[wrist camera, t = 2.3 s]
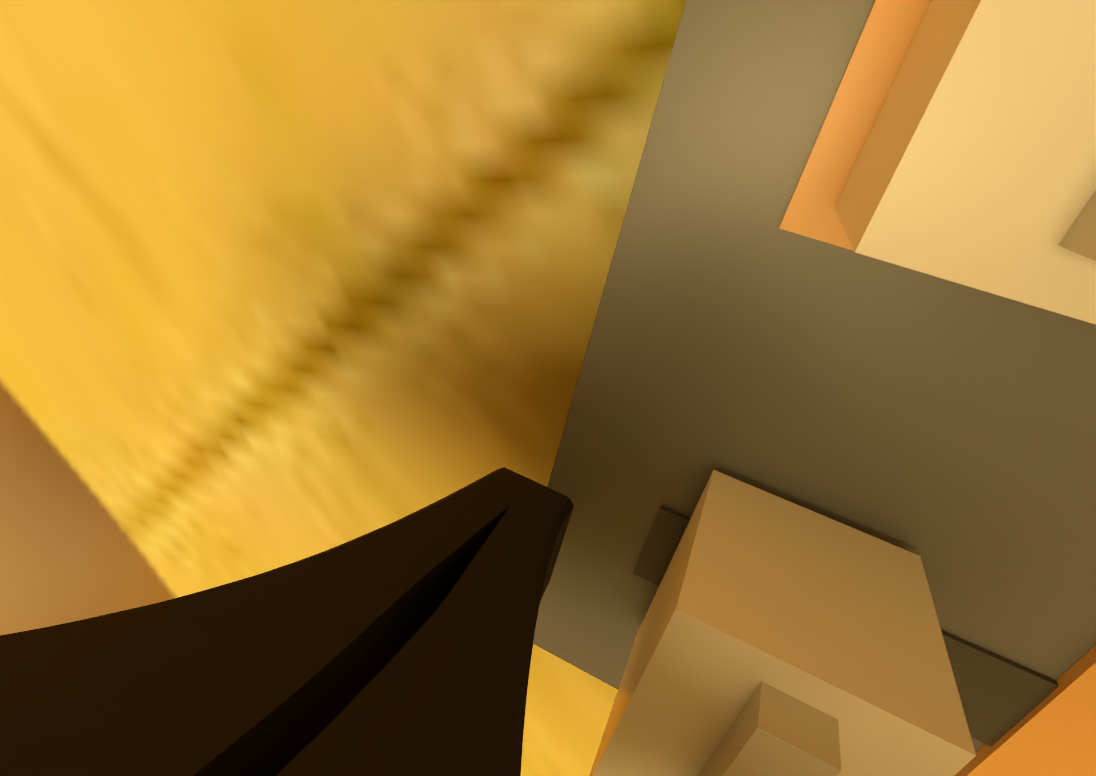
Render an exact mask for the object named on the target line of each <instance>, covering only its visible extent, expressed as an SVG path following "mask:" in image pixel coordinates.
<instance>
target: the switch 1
mask: <svg viewBox="0 0 1096 776" xmlns="http://www.w3.org/2000/svg"><path fill="white" fill-rule="evenodd" d="M975 756H976V753H975V750H974V746H973V742H972V739H971V735H970V732H969V728H968V725H967V721H966V718H965V714H964V710H963V707H962V703H961V700H960V696H959V693H958V689H957V685H956V682H955V678H954V675H953V671H952V668H951V664H950V660H949V657H948V653H947V650H946V646H945V643H944V639H943V635H942V632H941V628H940V625H939V621H938V618H937V614H936V611H935V607H934V603H933V600H932V596H931V593H930V589H929V586H928V582H927V578H926V575H925V571H924V568H923V564H922V561H921V557H920V556H919V555H917V554H914V553H912V552H909V551H907V550H905V549H902V548H900V547H897V546H895V545H893V544H890V543H888V542H885V541H883V540H881V539H878V538H876V537H873V536H871V535H869V534H866V533H864V532H862V531H859V530H857V529H854V528H852V527H850V526H847V525H845V524H842V523H840V522H838V521H835V520H833V519H830V518H828V517H826V516H823V515H821V514H818V513H816V512H814V511H811V510H809V509H807V508H804V507H802V506H799V505H797V504H795V503H792V502H790V501H787V500H785V499H783V498H780V497H778V496H775V495H773V494H771V493H768V492H766V491H763V490H761V489H759V488H756V487H754V486H752V485H749V484H747V483H744V482H742V481H740V480H737V479H735V478H732V477H730V476H728V475H725V474H723V473H720V472H718V471H716V470H713V472H712V474H711V476H710V478H709V480H708V482H707V484H706V487H705V489H704V491H703V493H702V495H701V497H700V499H699V502H698V504H697V506H696V508H695V510H694V512H693V515H692V517H691V519H690V521H689V523H688V525H687V527H686V530H685V532H684V534H683V536H682V538H681V540H680V542H679V545H678V547H677V549H676V551H675V553H674V555H673V558H672V560H671V562H670V564H669V566H668V568H667V570H666V573H665V575H664V577H663V579H662V581H661V583H660V585H659V588H658V590H657V592H656V594H655V596H654V598H653V601H652V603H651V605H650V607H649V609H648V611H647V613H646V616H645V618H644V620H643V622H642V624H641V626H640V628H639V631H638V633H637V635H636V638H635V641H634V644H633V647H632V650H631V653H630V656H629V659H628V662H627V665H626V668H625V671H624V674H623V677H622V680H621V683H620V686H619V689H618V692H617V695H616V698H615V701H614V704H613V707H612V710H611V713H610V716H609V719H608V722H607V725H606V728H605V731H604V734H603V737H602V740H601V743H600V746H599V749H598V752H597V755H596V758H595V761H594V764H593V767H592V770H591V773H590V776H954V775H955V774H956V773H958V772H959V771H960V770H961V769H962V768H963V767H964V766H965V765H967V764H968V763H969V762H970V761H971V760H972V759H973V758H974V757H975Z"/></svg>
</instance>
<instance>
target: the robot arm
mask: <svg viewBox="0 0 1096 776" xmlns="http://www.w3.org/2000/svg"><path fill="white" fill-rule="evenodd" d="M573 507H574V505H573V503H572V501H571V499H570V498H569V497H567V496H565V495H563V494H561V493H559V492H556V491H554V490H552V489H550V488H548V487H546V486H543V485H541V484H539V483H537V482H535V481H533V480H530V479H528V478H526V477H524V476H522V475H520V474H517V473H515V472H513V471H511V470H509V469H507V468H505V467H503V468H501V469H498V470H496V471H494V472H492V473H490V474H488V475H486V476H484V477H483V478H481V479H479V480H477V481H475V482H473V483H471V484H470V485H468V486H466V487H464V488H462V489H460V490H458V491H456V492H454V493H452V494H450V495H449V496H447V497H445V498H443V499H441V500H439V501H437V502H435V503H433V504H431V505H429V506H427V507H424V508H422V509H420V510H418V511H416V512H414V513H412V514H410V515H408V516H406V517H404V518H402V519H399V520H397V521H395V522H393V523H391V524H389V525H386V526H384V527H382V528H379V529H377V530H375V531H372V532H370V533H368V534H365V535H363V536H361V537H358V538H356V539H353V540H351V541H349V542H346V543H344V544H342V545H339V546H337V547H334V548H332V549H329V550H327V551H324V552H321V553H319V554H316V555H313V556H311V557H308V558H305V559H302V560H300V561H297V562H294V563H291V564H288V565H285V566H282V567H279V568H276V569H273V570H271V571H268V572H265V573H262V574H258V575H255V576H252V577H249V578H245V579H242V580H239V581H235V582H232V583H228V584H225V585H222V586H218V587H215V588H211V589H208V590H204V591H201V592H197V593H193V594H190V595H186V596H182V597H179V598H175V599H171V600H167V601H164V602H160V603H156V604H151V605H147V606H142V607H138V608H133V609H129V610H124V611H120V612H116V613H111V614H106V615H103V616H98V617H94V618H89V619H85V620H80V621H75V622H70V623H65V624H60V625H55V626H50V627H45V628H40V629H34V630H29V631H24V632H18V633H13V634H7V635H1V636H0V776H520V773H521V758H522V742H523V729H524V718H525V706H526V695H527V686H528V677H529V669H530V661H531V654H532V647H533V640H534V634H535V627H536V621H537V616H538V610H539V605H540V601H541V599H542V597H543V595H544V592H545V590H546V588H547V586H548V584H549V582H550V579H551V576H552V573H553V569H554V566H555V563H556V560H557V557H558V554H559V551H560V548H561V545H562V542H563V538H564V535H565V532H566V529H567V526H568V523H569V520H570V517H571V514H572V511H573Z"/></svg>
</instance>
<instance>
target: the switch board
mask: <svg viewBox="0 0 1096 776" xmlns="http://www.w3.org/2000/svg"><path fill="white" fill-rule="evenodd" d="M931 1H932V0H686V3H685V7H684V10H683V14H682V17H681V21H680V24H679V28H678V31H677V35H676V38H675V42H674V45H673V49H672V52H671V56H670V59H669V63H668V66H667V70H666V73H665V77H664V80H663V84H662V87H661V91H660V94H659V98H658V101H657V105H656V108H655V112H654V115H653V119H652V122H651V126H650V129H649V133H648V136H647V140H646V143H645V147H644V150H643V154H642V157H641V161H640V164H639V168H638V171H637V175H636V178H635V182H634V185H633V189H632V192H631V196H630V199H629V203H628V206H627V210H626V213H625V217H624V220H623V224H622V227H621V231H620V234H619V238H618V241H617V245H616V248H615V252H614V255H613V259H612V262H611V266H610V269H609V273H608V276H607V280H606V284H605V287H604V291H603V294H602V298H601V301H600V305H599V308H598V312H597V315H596V319H595V322H594V326H593V329H592V333H591V336H590V340H589V343H588V347H587V350H586V354H585V357H584V361H583V364H582V368H581V371H580V375H579V378H578V382H577V385H576V389H575V392H574V396H573V399H572V403H571V406H570V410H569V413H568V417H567V420H566V424H565V427H564V431H563V434H562V438H561V441H560V445H559V448H558V452H557V455H556V459H555V462H554V466H553V469H552V473H551V476H550V480H549V483H548V488H550V489H552V490H554V491H556V492H559V493H561V494H563V495H565V496H567V497H569V498H570V499H571V501H572V503H573V505H574V507H573V511H572V514H571V517H570V520H569V523H568V526H567V529H566V532H565V535H564V538H563V542H562V545H561V548H560V551H559V554H558V557H557V560H556V563H555V566H554V569H553V573H552V576H551V579H550V582H549V584H548V586H547V588H546V590H545V592H544V595H543V597H542V599H541V601H540V605H539V610H538V616H537V621H536V627H535V634H534V640H533V644H535V645H537V646H539V647H541V648H542V649H544V650H546V651H548V652H550V653H552V654H553V655H555V656H557V657H559V658H561V659H563V660H565V661H566V662H568V663H570V664H572V665H574V666H576V667H578V668H579V669H581V670H583V671H585V672H587V673H589V674H590V675H592V676H594V677H596V678H598V679H600V680H602V681H603V682H605V683H607V684H609V685H611V686H613V687H614V688H616V689H619V686H620V683H621V680H622V677H623V674H624V671H625V668H626V665H627V662H628V659H629V656H630V653H631V650H632V647H633V644H634V641H635V638H636V635H637V633H638V631H639V628H640V626H641V624H642V622H643V620H644V618H645V616H646V613H647V611H648V609H649V607H650V605H651V603H652V601H653V598H654V596H655V594H656V592H657V590H658V588H659V585H660V583H661V581H662V579H663V577H664V575H665V573H666V570H667V568H668V566H669V564H670V562H671V560H672V558H673V555H674V553H675V551H676V549H677V547H678V545H679V542H680V540H681V538H682V536H683V534H684V532H685V530H686V527H687V525H688V523H689V521H690V519H691V517H692V515H693V512H694V510H695V508H696V506H697V504H698V502H699V499H700V497H701V495H702V493H703V491H704V489H705V487H706V484H707V482H708V480H709V478H710V476H711V474H712V472H713V470H716V471H718V472H720V473H723V474H725V475H728V476H730V477H732V478H735V479H737V480H740V481H742V482H744V483H747V484H749V485H752V486H754V487H756V488H759V489H761V490H763V491H766V492H768V493H771V494H773V495H775V496H778V497H780V498H783V499H785V500H787V501H790V502H792V503H795V504H797V505H799V506H802V507H804V508H807V509H809V510H811V511H814V512H816V513H818V514H821V515H823V516H826V517H828V518H830V519H833V520H835V521H838V522H840V523H842V524H845V525H847V526H850V527H852V528H854V529H857V530H859V531H862V532H864V533H866V534H869V535H871V536H873V537H876V538H878V539H881V540H883V541H885V542H888V543H890V544H893V545H895V546H897V547H900V548H902V549H905V550H907V551H909V552H912V553H914V554H917V555H919V556H920V557H921V561H922V564H923V568H924V571H925V575H926V578H927V582H928V586H929V589H930V593H931V596H932V600H933V603H934V607H935V611H936V614H937V618H938V621H939V625H940V628H941V632H942V635H943V639H944V643H945V646H946V650H947V653H948V657H949V660H950V664H951V668H952V671H953V675H954V678H955V682H956V685H957V689H958V693H959V696H960V700H961V703H962V707H963V710H964V714H965V718H966V721H967V725H968V728H969V732H970V735H971V739H972V742H973V746H974V750H975V753H976V756H975V757H974V758H973V759H972V760H971V761H970V762H969V763H968V764H967V765H965V766H964V767H963V768H962V769H961V770H960V771H959V772H958V773H956V774H955V775H954V776H1096V325H1095V324H1092V323H1089V322H1085V321H1082V320H1079V319H1075V318H1072V317H1069V316H1065V315H1062V314H1059V313H1055V312H1052V311H1049V310H1045V309H1042V308H1039V307H1035V306H1032V305H1029V304H1025V303H1022V302H1019V301H1015V300H1012V299H1009V298H1005V297H1002V296H999V295H995V294H992V293H989V292H985V291H982V290H979V289H975V288H972V287H969V286H965V285H962V284H959V283H955V282H952V281H949V280H945V279H942V278H939V277H935V276H932V275H929V274H925V273H922V272H919V271H915V270H912V269H909V268H905V267H902V266H899V265H895V264H892V263H889V262H885V261H882V260H879V259H875V258H872V257H869V256H866V255H862V254H859V253H856V252H854V250H853V247H852V245H851V243H850V241H849V239H848V236H847V234H846V232H845V230H844V227H843V225H842V223H841V221H840V219H839V216H838V214H837V212H836V210H835V207H836V205H837V203H838V201H839V199H840V196H841V194H842V192H843V190H844V188H845V186H846V183H847V181H848V179H849V177H850V175H851V173H852V171H853V168H854V166H855V164H856V162H857V160H858V158H859V156H860V153H861V151H862V149H863V147H864V145H865V143H866V140H867V138H868V136H869V134H870V132H871V130H872V128H873V125H874V123H875V121H876V119H877V117H878V115H879V113H880V110H881V108H882V106H883V104H884V102H885V100H886V98H887V95H888V93H889V91H890V89H891V87H892V85H893V82H894V80H895V78H896V76H897V74H898V72H899V70H900V67H901V65H902V63H903V61H904V59H905V57H906V55H907V52H908V50H909V48H910V46H911V44H912V42H913V39H914V37H915V35H916V33H917V31H918V29H919V27H920V24H921V22H922V20H923V18H924V16H925V14H926V12H927V9H928V7H929V5H930V3H931Z"/></svg>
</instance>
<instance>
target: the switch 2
mask: <svg viewBox="0 0 1096 776" xmlns="http://www.w3.org/2000/svg"><path fill="white" fill-rule="evenodd" d="M835 210H836V212H837V214H838V216H839V219H840V221H841V223H842V225H843V227H844V230H845V232H846V234H847V236H848V239H849V241H850V243H851V245H852V247H853V250H854V252H856V253H859V254H862V255H866V256H869V257H872V258H875V259H879V260H882V261H885V262H889V263H892V264H895V265H899V266H902V267H905V268H909V269H912V270H915V271H919V272H922V273H925V274H929V275H932V276H935V277H939V278H942V279H945V280H949V281H952V282H955V283H959V284H962V285H965V286H969V287H972V288H975V289H979V290H982V291H985V292H989V293H992V294H995V295H999V296H1002V297H1005V298H1009V299H1012V300H1015V301H1019V302H1022V303H1025V304H1029V305H1032V306H1035V307H1039V308H1042V309H1045V310H1049V311H1052V312H1055V313H1059V314H1062V315H1065V316H1069V317H1072V318H1075V319H1079V320H1082V321H1085V322H1089V323H1092V324H1095V325H1096V0H932V1H931V3H930V5H929V7H928V9H927V12H926V14H925V16H924V18H923V20H922V22H921V24H920V27H919V29H918V31H917V33H916V35H915V37H914V39H913V42H912V44H911V46H910V48H909V50H908V52H907V55H906V57H905V59H904V61H903V63H902V65H901V67H900V70H899V72H898V74H897V76H896V78H895V80H894V82H893V85H892V87H891V89H890V91H889V93H888V95H887V98H886V100H885V102H884V104H883V106H882V108H881V110H880V113H879V115H878V117H877V119H876V121H875V123H874V125H873V128H872V130H871V132H870V134H869V136H868V138H867V140H866V143H865V145H864V147H863V149H862V151H861V153H860V156H859V158H858V160H857V162H856V164H855V166H854V168H853V171H852V173H851V175H850V177H849V179H848V181H847V183H846V186H845V188H844V190H843V192H842V194H841V196H840V199H839V201H838V203H837V205H836V207H835Z"/></svg>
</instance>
